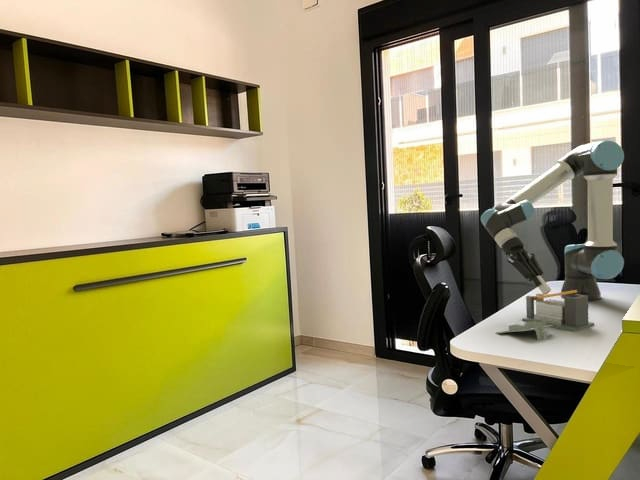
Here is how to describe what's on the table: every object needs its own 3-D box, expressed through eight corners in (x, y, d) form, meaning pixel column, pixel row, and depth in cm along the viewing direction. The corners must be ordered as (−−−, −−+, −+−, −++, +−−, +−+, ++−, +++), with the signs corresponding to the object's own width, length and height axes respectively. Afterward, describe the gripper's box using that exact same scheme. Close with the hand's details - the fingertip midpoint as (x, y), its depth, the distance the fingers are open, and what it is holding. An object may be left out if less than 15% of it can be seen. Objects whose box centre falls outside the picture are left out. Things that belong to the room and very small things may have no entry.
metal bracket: (558, 318, 155) (523, 325, 149) (562, 336, 154) (527, 343, 148) (525, 321, 168) (491, 328, 162) (529, 338, 167) (495, 345, 161)
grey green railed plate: (522, 320, 175) (522, 318, 175) (543, 315, 181) (543, 312, 181) (572, 331, 158) (572, 329, 158) (594, 325, 164) (594, 322, 164)
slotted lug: (564, 325, 163) (564, 296, 162) (577, 321, 166) (576, 294, 166) (575, 327, 160) (575, 298, 159) (588, 323, 163) (588, 295, 162)
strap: (533, 300, 175) (532, 296, 176) (538, 299, 177) (537, 295, 177) (572, 294, 162) (571, 290, 162) (577, 292, 163) (576, 288, 163)
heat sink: (524, 317, 176) (524, 296, 175) (541, 313, 180) (540, 293, 179) (561, 325, 163) (560, 302, 162) (577, 320, 167) (577, 298, 167)
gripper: (515, 247, 189) (552, 296, 176) (491, 250, 183) (528, 300, 170) (526, 235, 184) (566, 284, 171) (503, 237, 178) (542, 288, 165)
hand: (547, 292), depth 170 cm, fingers closed
